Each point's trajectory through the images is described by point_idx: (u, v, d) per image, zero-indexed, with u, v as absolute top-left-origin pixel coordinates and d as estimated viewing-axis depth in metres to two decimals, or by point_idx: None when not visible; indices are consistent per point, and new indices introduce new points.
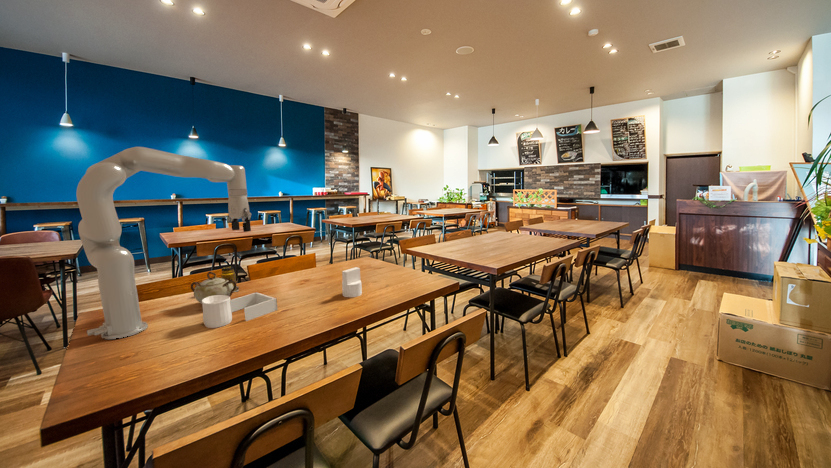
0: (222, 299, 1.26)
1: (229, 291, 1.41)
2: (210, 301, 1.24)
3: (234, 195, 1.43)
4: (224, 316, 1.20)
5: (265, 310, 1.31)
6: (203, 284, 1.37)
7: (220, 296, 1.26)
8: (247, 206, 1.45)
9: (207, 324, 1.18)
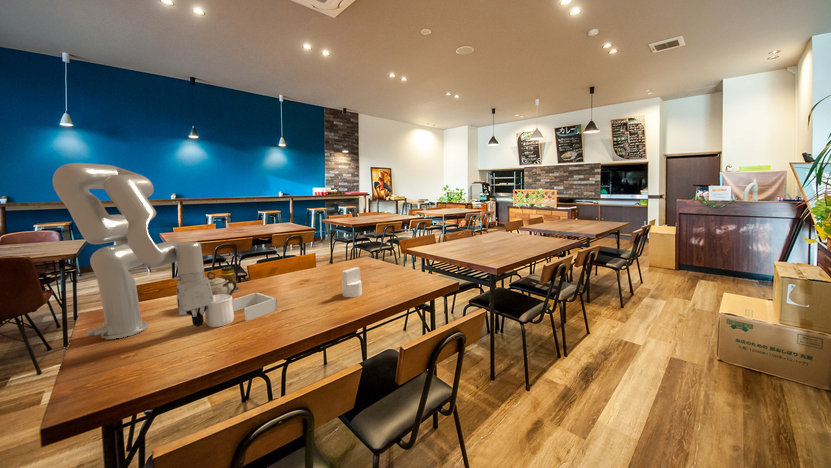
0: (224, 298, 1.26)
1: (229, 291, 1.41)
2: None
3: (203, 278, 1.15)
4: (226, 315, 1.21)
5: (265, 310, 1.31)
6: None
7: (222, 295, 1.26)
8: None
9: (209, 323, 1.19)
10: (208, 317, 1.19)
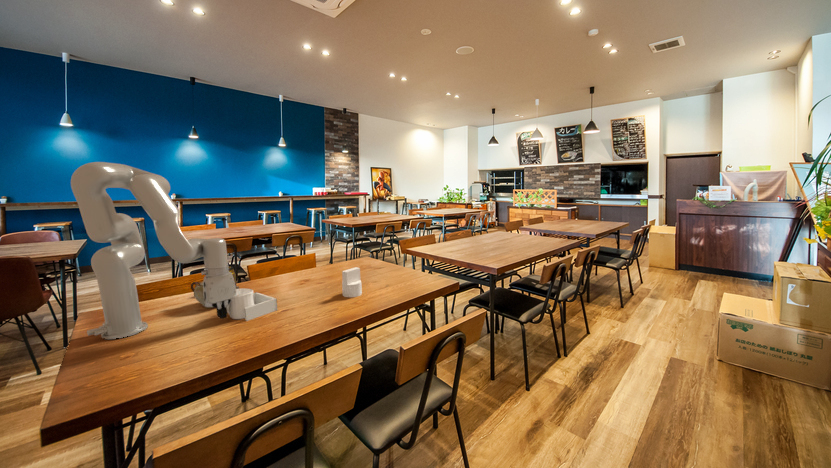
0: (246, 292, 1.33)
1: None
2: None
3: (228, 272, 1.22)
4: None
5: (265, 310, 1.31)
6: None
7: (244, 289, 1.33)
8: None
9: (232, 315, 1.26)
10: (231, 310, 1.26)
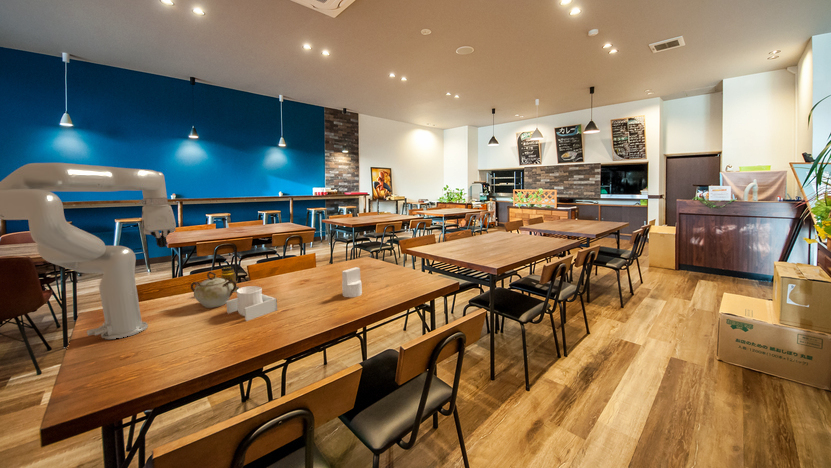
0: (254, 290, 1.36)
1: (229, 291, 1.41)
2: (243, 291, 1.35)
3: (166, 204, 1.32)
4: None
5: (265, 310, 1.31)
6: (203, 284, 1.37)
7: (252, 287, 1.36)
8: None
9: (241, 312, 1.29)
10: (241, 307, 1.29)
